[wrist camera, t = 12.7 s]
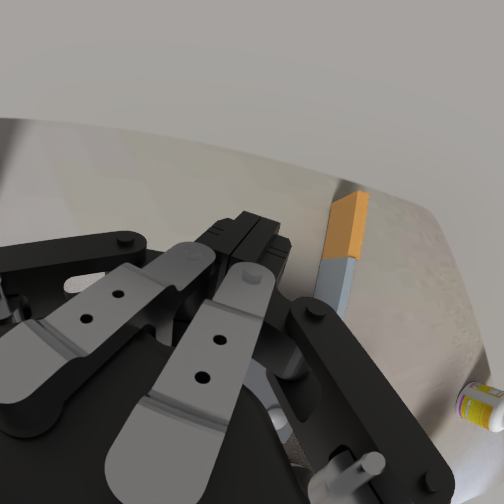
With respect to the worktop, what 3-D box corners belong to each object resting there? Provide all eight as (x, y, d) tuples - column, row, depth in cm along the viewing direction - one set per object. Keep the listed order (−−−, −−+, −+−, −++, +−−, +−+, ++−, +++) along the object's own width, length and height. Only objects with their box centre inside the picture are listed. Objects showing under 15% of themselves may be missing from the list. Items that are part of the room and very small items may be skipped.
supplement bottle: (459, 422, 41) (508, 446, 28) (450, 402, 41) (503, 425, 28) (481, 395, 42) (531, 413, 30) (473, 373, 42) (527, 390, 29)
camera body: (184, 381, 34) (182, 410, 26) (213, 321, 35) (218, 336, 27) (287, 419, 36) (308, 451, 28) (316, 365, 37) (345, 387, 29)
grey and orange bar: (331, 203, 38) (358, 189, 31) (343, 207, 38) (372, 194, 31) (299, 358, 36) (321, 376, 29) (312, 360, 37) (336, 378, 30)
